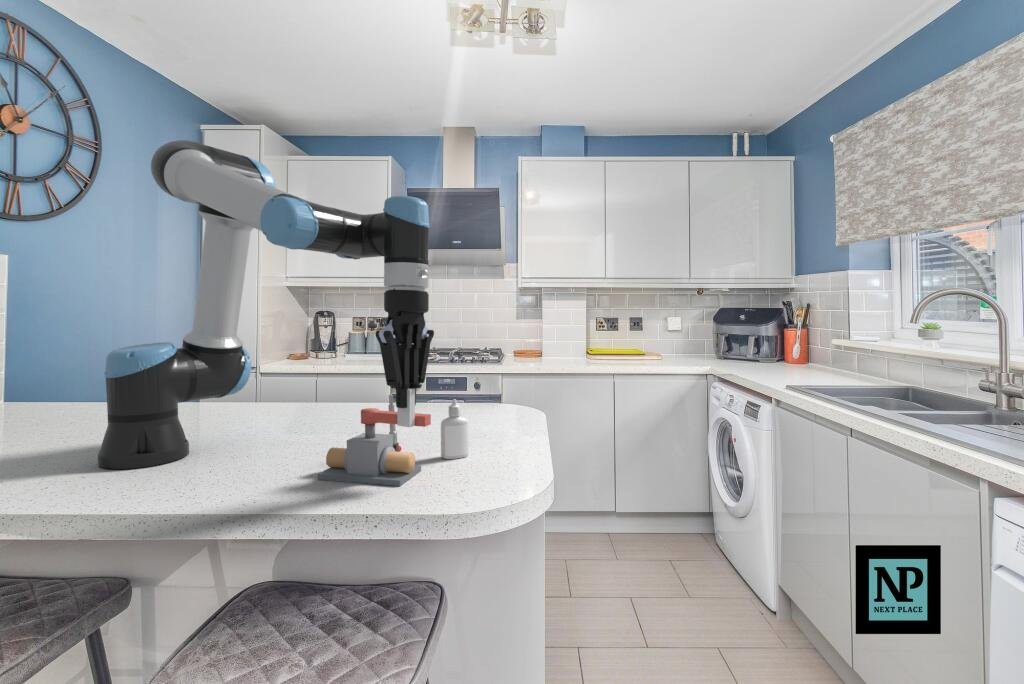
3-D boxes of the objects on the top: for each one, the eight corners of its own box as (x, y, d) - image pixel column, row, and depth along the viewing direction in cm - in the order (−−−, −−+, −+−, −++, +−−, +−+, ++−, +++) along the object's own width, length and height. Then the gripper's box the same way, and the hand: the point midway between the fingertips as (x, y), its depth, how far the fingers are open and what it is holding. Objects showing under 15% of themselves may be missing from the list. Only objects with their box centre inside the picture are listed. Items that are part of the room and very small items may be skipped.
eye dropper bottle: (466, 460, 104) (466, 401, 103) (439, 459, 104) (438, 401, 103) (469, 454, 108) (469, 398, 108) (443, 453, 108) (443, 397, 108)
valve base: (317, 479, 91) (316, 427, 91) (345, 465, 100) (344, 417, 100) (400, 486, 88) (399, 431, 87) (421, 470, 97) (420, 421, 96)
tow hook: (347, 463, 103) (392, 461, 103) (343, 399, 103) (388, 398, 102) (361, 452, 112) (403, 451, 111) (357, 393, 111) (399, 392, 111)
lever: (357, 423, 93) (357, 410, 92) (367, 420, 96) (367, 407, 95) (423, 429, 88) (423, 416, 88) (432, 425, 91) (432, 412, 91)
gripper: (398, 287, 80) (397, 435, 81) (446, 291, 92) (445, 421, 93) (362, 287, 84) (362, 430, 85) (413, 292, 95) (413, 417, 96)
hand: (406, 425), depth 89 cm, fingers closed
